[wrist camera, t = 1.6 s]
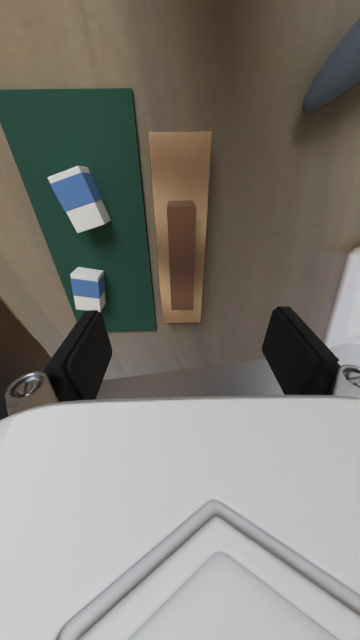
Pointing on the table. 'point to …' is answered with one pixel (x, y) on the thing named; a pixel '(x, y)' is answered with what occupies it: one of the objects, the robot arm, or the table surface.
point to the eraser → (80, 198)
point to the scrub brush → (180, 219)
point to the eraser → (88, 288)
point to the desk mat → (110, 178)
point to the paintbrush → (336, 72)
